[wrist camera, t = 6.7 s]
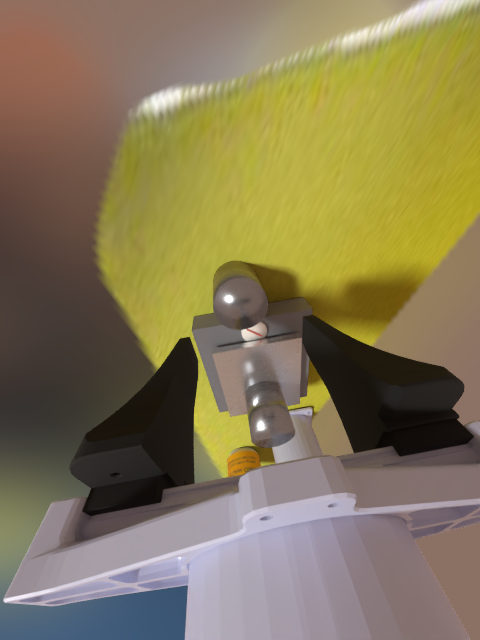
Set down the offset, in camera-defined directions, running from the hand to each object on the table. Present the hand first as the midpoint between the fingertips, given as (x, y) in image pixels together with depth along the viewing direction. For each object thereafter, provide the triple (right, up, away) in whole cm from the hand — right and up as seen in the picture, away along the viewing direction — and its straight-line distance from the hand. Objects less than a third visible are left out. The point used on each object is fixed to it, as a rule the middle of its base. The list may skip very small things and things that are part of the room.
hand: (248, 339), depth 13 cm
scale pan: (+2, -5, +11) cm, 12 cm away
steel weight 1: (-1, +5, +8) cm, 9 cm away
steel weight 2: (+2, -8, +11) cm, 14 cm away
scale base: (+1, -3, +13) cm, 13 cm away
